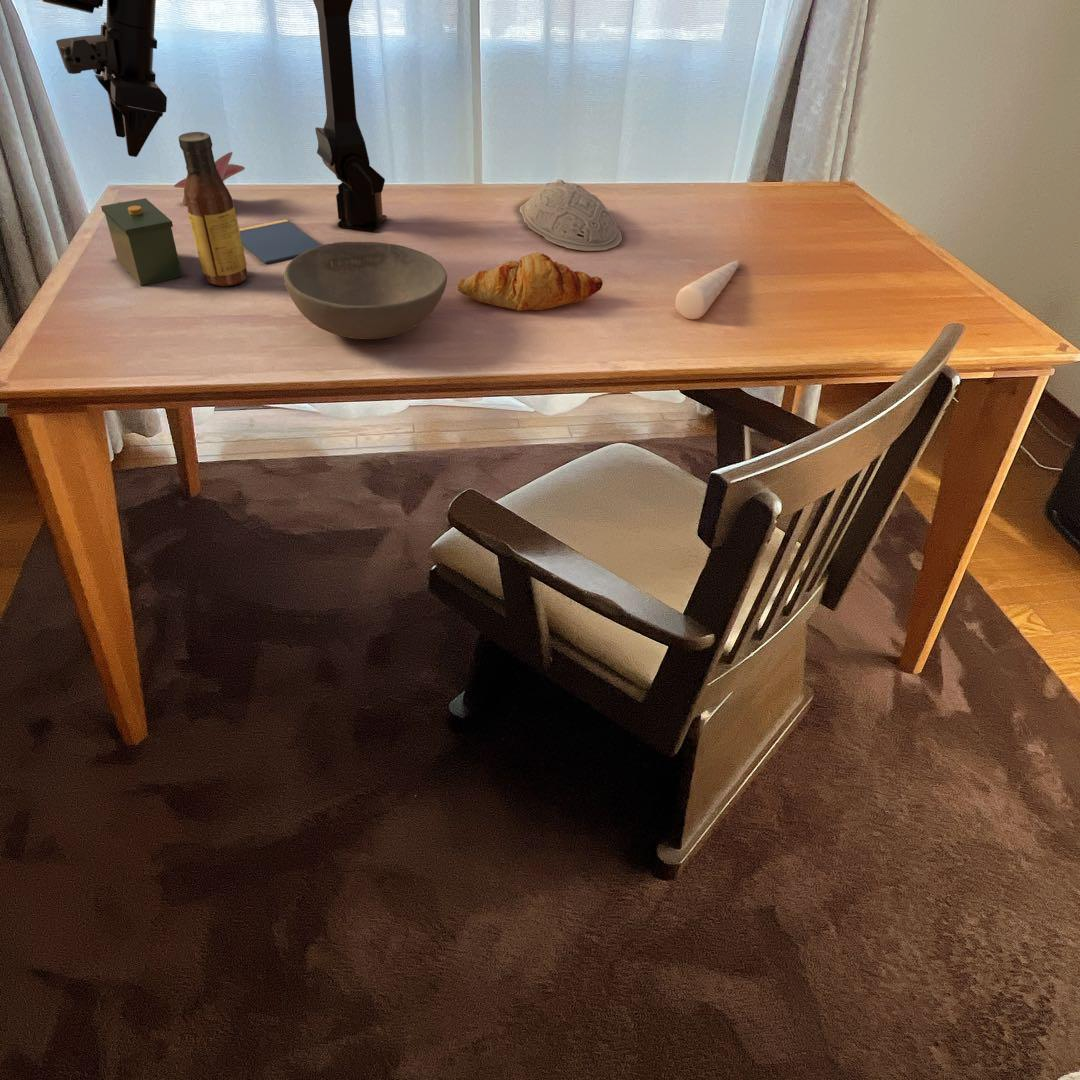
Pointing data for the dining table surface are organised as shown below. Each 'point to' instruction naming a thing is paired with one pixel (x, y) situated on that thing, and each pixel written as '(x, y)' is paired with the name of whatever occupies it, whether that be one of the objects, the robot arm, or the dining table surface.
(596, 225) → the grey domed shell
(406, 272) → the bowl
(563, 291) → the croissant
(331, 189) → the dining table surface
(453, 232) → the dining table surface
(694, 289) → the unicorn horn
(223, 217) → the sauce bottle
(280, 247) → the blue book
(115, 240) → the tin box
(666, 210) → the dining table surface
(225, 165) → the lily
